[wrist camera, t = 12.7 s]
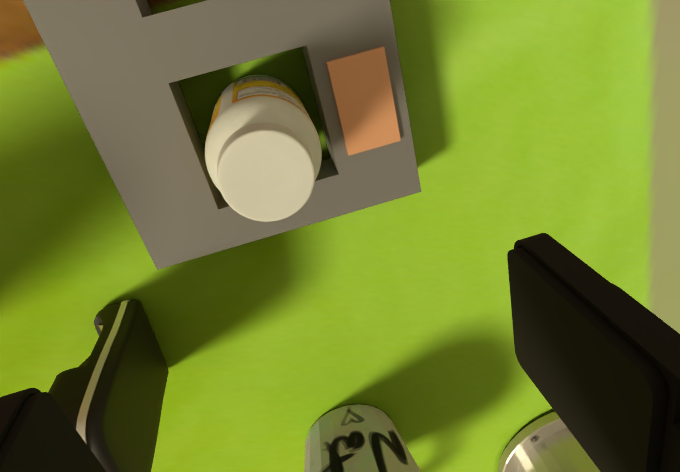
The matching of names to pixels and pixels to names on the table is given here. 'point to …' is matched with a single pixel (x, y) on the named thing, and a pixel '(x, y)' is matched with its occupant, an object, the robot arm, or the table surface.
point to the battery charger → (117, 390)
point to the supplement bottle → (262, 148)
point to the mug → (356, 443)
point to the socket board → (213, 54)
